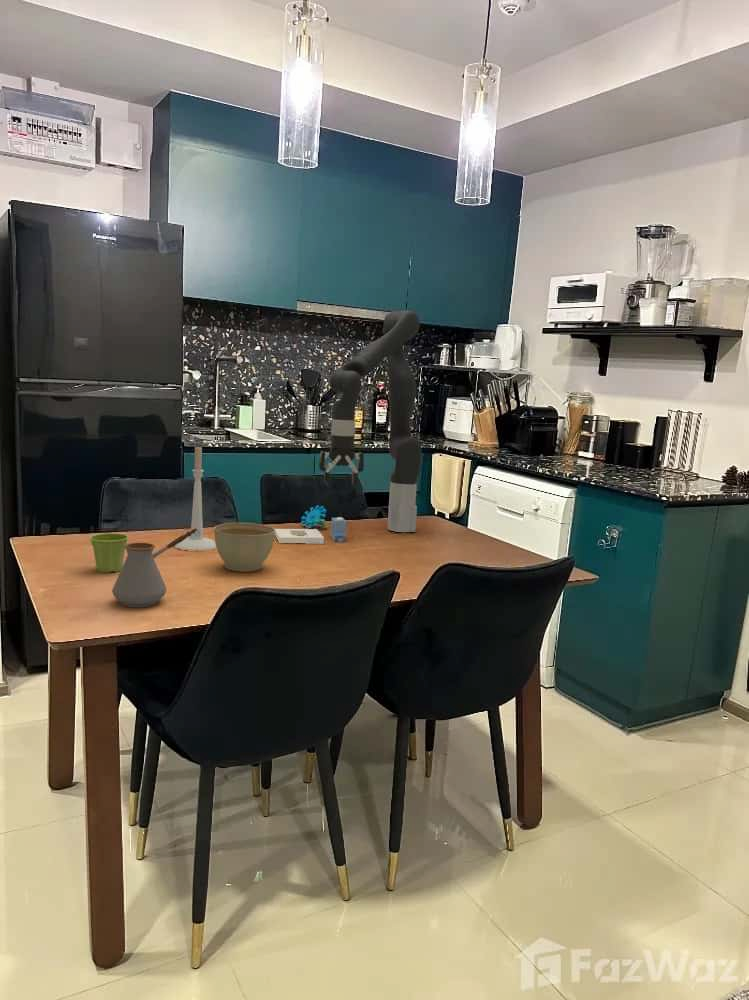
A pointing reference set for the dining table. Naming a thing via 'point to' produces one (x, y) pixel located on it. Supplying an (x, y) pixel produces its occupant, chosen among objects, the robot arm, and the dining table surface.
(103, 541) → the plant pot
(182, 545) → the candlestick
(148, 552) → the coffee pot
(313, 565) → the dining table surface
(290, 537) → the chassis board
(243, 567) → the planter bowl
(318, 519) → the blue coral
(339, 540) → the servo
